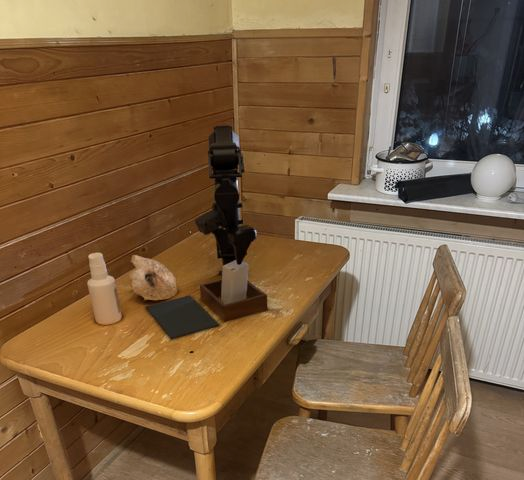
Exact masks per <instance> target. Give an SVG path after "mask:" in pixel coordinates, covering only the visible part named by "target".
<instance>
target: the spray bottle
mask: <svg viewBox="0 0 524 480" xmlns="http://www.w3.org/2000/svg"><path fill="white" fill-rule="evenodd" d="M87 258H88V261H89V263H88V266H89V270H90V277H91V278H90V279H88V280H87V283H86V284H87V285H86V286H87V290H88V294H89V297H90V303H91V306H92V312H93V315H94V319H95V322H96V323H97V324H98V325H101V326H102V325H103V326H107V325H112V324H117V323H118V322H120V321H121V320H122V319H123V318H122V317H123V314H122V310H121V304H120V300H119V299H120V298H119V294H118V290H117V289H118V288H117V284H116V280H115V278H114V276H112V275H109V273H108V270H107V266H106V261H105V259H104V255H103V253H102V252H92V253H90V254H88V257H87Z"/></svg>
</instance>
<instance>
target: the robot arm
mask: <svg viewBox="0 0 524 480" xmlns="http://www.w3.org/2000/svg"><path fill="white" fill-rule="evenodd" d="M239 138H240V137H239V134H237V133H236V132H234V131H233V126H232V125H230V124H227V125H225V124H221V125H215V126H213V132H212V133H211V134H209V136H208V151H207V157H208V160H207V161H208V173H209V174H208V176H209V179H210V180H211V179H212V180H213V182H214V191H213V192H214V193H213V194H214V195H213V197H214V202H213V203H212V205H211V206H212V207H211V210H209V211H207V212H205V213H203V214H201V215H200V216H198V217H196V218H195V219H194V223H195V225H196V227H197V230H198V231H199V232H200V233H202V234H203V235H204V236H207V235H210V234H212V235H213V236H214V238H215V244H216V255H217V259H218V260H220V259H221V261H222V267H223V266H224V265H226V264H228V263H230V262H233V261H235V260H236V262H237V265H240V264H242V261H243V262H244V259H245V258H246V256H248V250H249V249H250V246H251V244H252V243H253V242H254V241H255V240H257V238H258V237H257V230H256V229H255V228H254V227H252V226H250V225H248V224H244V219H242V218H241V216H240V215H241V213H240V209H241V208H243V203H242V202H240V190H239V179H238V178H242V177H243V174H245V165H244V154H243V153H242V150H241V149H240V139H239ZM242 173H243V174H242ZM218 273H219V274H220V275H221V276H222V270H219V271H218Z"/></svg>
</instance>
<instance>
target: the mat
mask: <svg viewBox="0 0 524 480" xmlns="http://www.w3.org/2000/svg"><path fill="white" fill-rule="evenodd" d="M145 309H146V310H147V311H148V313H149V314H150V315H151V316H152V318H153V319H154V320H155V321H156V322H157V324H158V325H159V327H161V328H162V330H163V331H164V333H165V334H166V335H167V336H168V338H169V339H170V340H174V339H177V338H178V339H179V338H181V337H184V336H185V337H186V336H188V335H192V334H196V333H199V332H203V331H206V330H209V329H213V328H216V327H220V323H218V321H217V320H216V319H215V318H214V317H213V316H212V315H210V313H209V312H207V311H206V309H204V307H202V306H201V305H200V304H199V302H197V301H196V299H194V298H193V297H192V296H191V295H185V296H181V297H177V298H174V299H169V300H165V301H161V302H156V303H153V304H150V305H146V306H145Z"/></svg>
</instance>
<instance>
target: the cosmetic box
mask: <svg viewBox="0 0 524 480" xmlns="http://www.w3.org/2000/svg"><path fill="white" fill-rule="evenodd" d="M221 268H222V269H221V271H222V275H221V279H222V290H221V297H220V300H221V301H222V302H223V303H224V304H229V303H233V302H236V301H240V300H244V299H247V296H246V293H247V280H248V279H249V264H248V263H247V262H245V261H244V260H243V261H242V264H240V265H237V262H236V260H235V261H233V262H230V263H228V264H226V265H224V266H223V265H222V267H221Z"/></svg>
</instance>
